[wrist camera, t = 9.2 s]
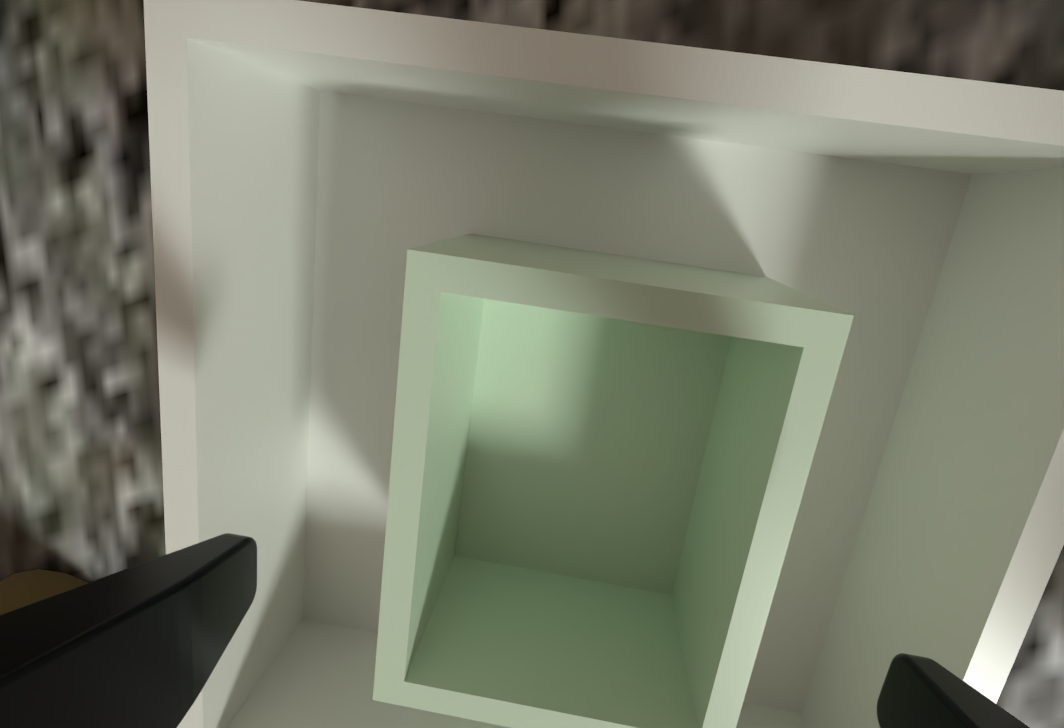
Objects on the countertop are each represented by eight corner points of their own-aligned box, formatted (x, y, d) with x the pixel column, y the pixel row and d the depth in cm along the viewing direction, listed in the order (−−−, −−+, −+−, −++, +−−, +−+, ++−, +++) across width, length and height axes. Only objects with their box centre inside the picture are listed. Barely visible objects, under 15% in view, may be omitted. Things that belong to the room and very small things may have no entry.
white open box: (993, 147, 13) (1247, 112, 8) (810, 714, 18) (900, 929, 13) (307, 61, 15) (143, -19, 9) (293, 616, 19) (174, 777, 14)
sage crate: (765, 276, 14) (854, 316, 9) (686, 603, 16) (723, 769, 12) (470, 233, 14) (407, 249, 10) (436, 557, 17) (372, 699, 12)
